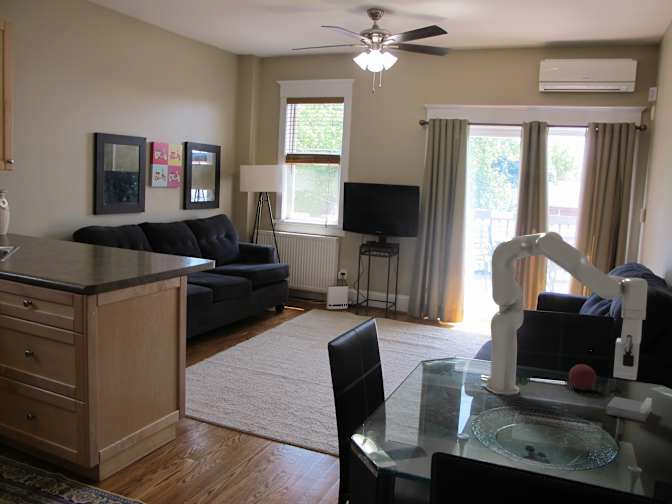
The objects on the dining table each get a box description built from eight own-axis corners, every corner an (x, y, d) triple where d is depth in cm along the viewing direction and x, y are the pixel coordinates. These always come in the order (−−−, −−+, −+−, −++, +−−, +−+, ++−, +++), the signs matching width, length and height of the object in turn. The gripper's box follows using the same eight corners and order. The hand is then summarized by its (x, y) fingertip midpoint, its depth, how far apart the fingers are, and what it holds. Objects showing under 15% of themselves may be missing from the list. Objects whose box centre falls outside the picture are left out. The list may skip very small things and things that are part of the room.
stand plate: (606, 413, 207) (607, 400, 207) (614, 404, 217) (615, 391, 216) (644, 422, 200) (645, 407, 200) (650, 412, 210) (651, 398, 209)
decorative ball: (568, 384, 240) (570, 359, 239) (595, 387, 236) (597, 363, 235) (567, 391, 231) (568, 366, 230) (595, 395, 226) (596, 369, 225)
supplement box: (636, 380, 203) (639, 344, 202) (612, 377, 207) (615, 341, 205) (637, 375, 209) (640, 340, 208) (614, 371, 213) (616, 337, 212)
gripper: (627, 308, 214) (624, 356, 216) (616, 316, 201) (613, 367, 202) (650, 311, 210) (647, 359, 212) (640, 319, 196) (637, 371, 198)
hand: (630, 363), depth 207 cm, fingers closed on supplement box, 7 cm apart
